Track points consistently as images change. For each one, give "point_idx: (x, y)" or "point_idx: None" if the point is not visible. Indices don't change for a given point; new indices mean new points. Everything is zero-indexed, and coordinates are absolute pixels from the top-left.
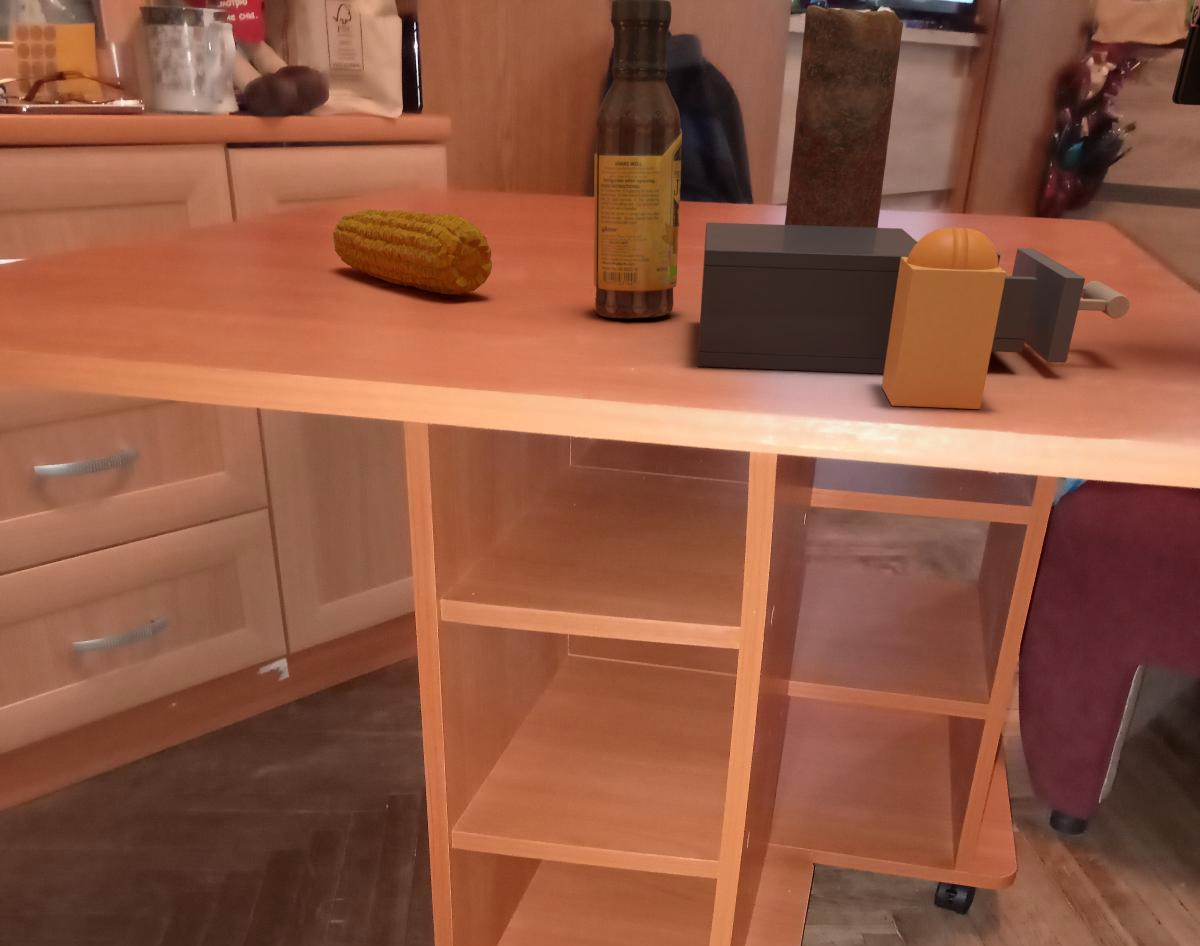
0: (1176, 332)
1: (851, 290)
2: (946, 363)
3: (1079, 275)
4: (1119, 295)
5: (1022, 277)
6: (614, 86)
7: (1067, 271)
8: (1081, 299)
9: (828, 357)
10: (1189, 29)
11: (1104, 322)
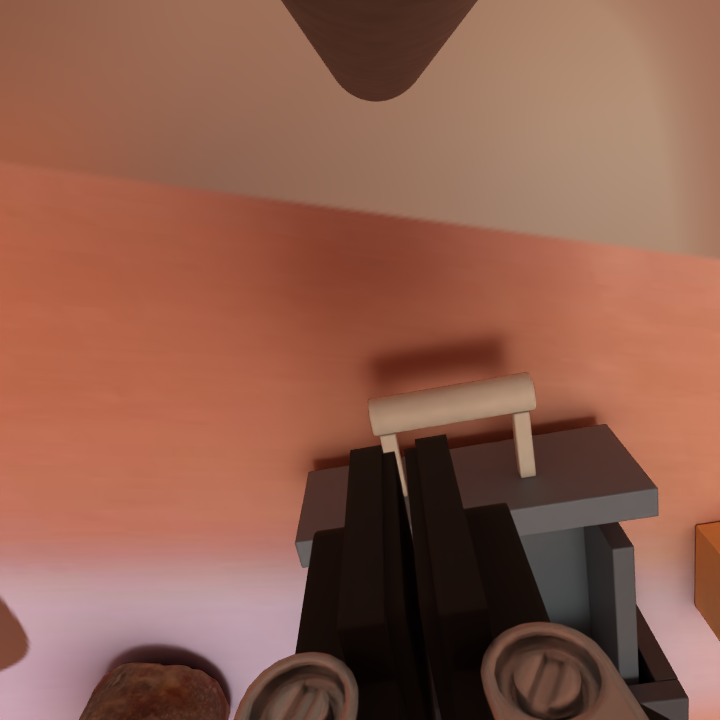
0: (126, 199)
1: None
2: None
3: (631, 495)
4: (535, 400)
5: (625, 566)
6: None
7: (587, 509)
8: (526, 449)
9: None
10: None
11: (92, 319)
